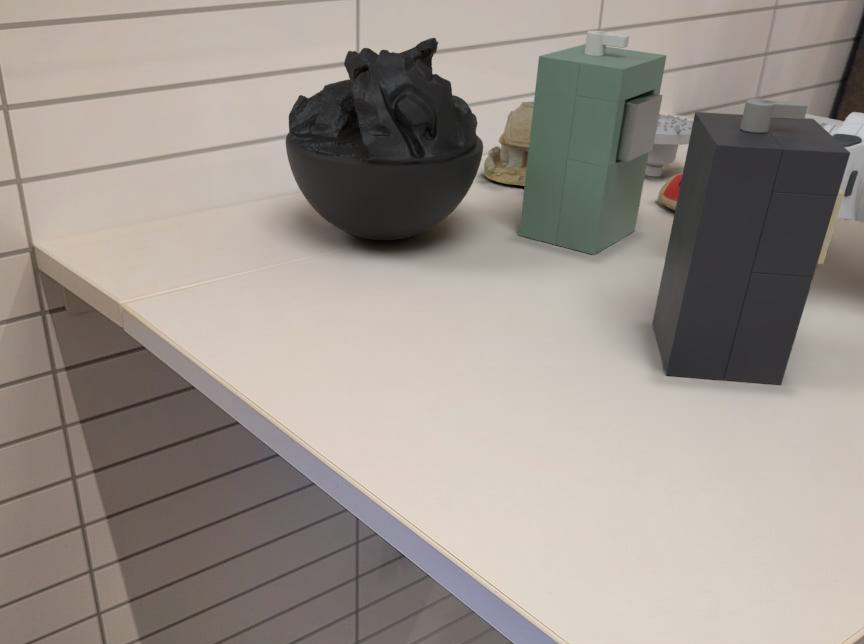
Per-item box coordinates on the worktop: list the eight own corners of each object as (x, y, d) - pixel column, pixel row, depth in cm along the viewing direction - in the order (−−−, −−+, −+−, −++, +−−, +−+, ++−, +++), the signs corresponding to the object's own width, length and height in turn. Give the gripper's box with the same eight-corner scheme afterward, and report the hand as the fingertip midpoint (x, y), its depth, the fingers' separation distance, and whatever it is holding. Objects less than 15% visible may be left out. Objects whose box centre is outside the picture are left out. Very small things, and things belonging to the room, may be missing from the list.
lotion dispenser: (755, 331, 83) (821, 91, 72) (781, 385, 75) (859, 122, 63) (651, 324, 84) (700, 84, 72) (666, 375, 75) (723, 114, 64)
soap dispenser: (634, 230, 104) (670, 33, 93) (594, 255, 97) (627, 45, 86) (562, 213, 109) (588, 22, 97) (518, 235, 102) (541, 33, 91)
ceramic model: (596, 173, 122) (609, 92, 117) (593, 199, 113) (606, 112, 108) (489, 163, 125) (496, 83, 119) (477, 188, 116) (484, 102, 110)
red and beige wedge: (680, 194, 116) (686, 165, 114) (746, 217, 109) (754, 186, 107) (642, 203, 112) (648, 173, 110) (709, 227, 106) (716, 196, 104)
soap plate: (652, 150, 97) (662, 94, 94) (627, 162, 93) (637, 104, 90) (640, 147, 98) (649, 92, 95) (614, 159, 94) (624, 102, 91)
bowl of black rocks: (328, 281, 90) (328, 69, 79) (263, 216, 105) (255, 31, 94) (510, 255, 97) (531, 58, 86) (424, 198, 112) (433, 24, 101)
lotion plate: (803, 237, 76) (823, 169, 73) (823, 264, 71) (844, 193, 68) (786, 236, 76) (804, 168, 73) (804, 263, 71) (824, 191, 68)
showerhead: (645, 127, 114) (614, 107, 122) (634, 187, 118) (605, 164, 126) (717, 126, 115) (682, 107, 123) (704, 185, 119) (671, 163, 127)
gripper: (894, 110, 89) (750, 88, 96) (834, 153, 75) (670, 123, 82) (873, 177, 92) (735, 151, 99) (811, 230, 79) (656, 195, 85)
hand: (705, 139), depth 90 cm, fingers closed
